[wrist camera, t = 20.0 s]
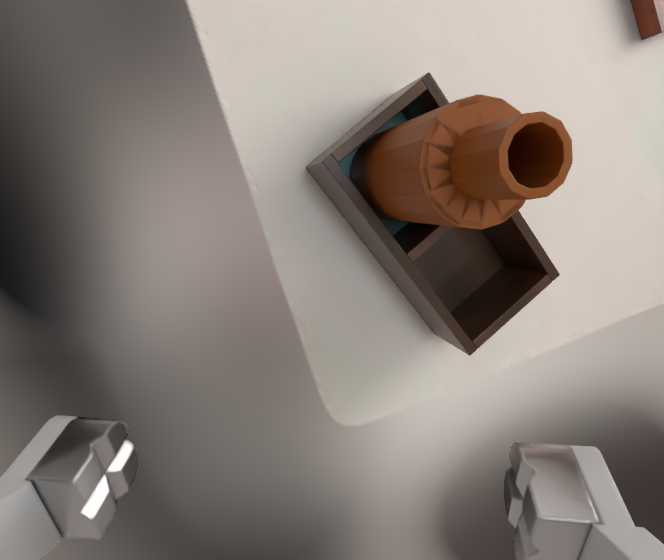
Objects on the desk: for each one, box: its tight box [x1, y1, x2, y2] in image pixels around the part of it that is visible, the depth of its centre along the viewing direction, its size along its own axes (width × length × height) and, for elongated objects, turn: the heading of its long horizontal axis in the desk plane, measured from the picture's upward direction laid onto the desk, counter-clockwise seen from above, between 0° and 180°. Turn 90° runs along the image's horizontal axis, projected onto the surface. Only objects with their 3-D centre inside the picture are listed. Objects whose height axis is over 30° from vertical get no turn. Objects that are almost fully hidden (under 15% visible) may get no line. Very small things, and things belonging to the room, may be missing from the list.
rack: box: [306, 73, 560, 355], centre depth 32 cm, size 8×16×6 cm, turn 39°
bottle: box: [350, 95, 572, 230], centre depth 26 cm, size 6×6×16 cm
